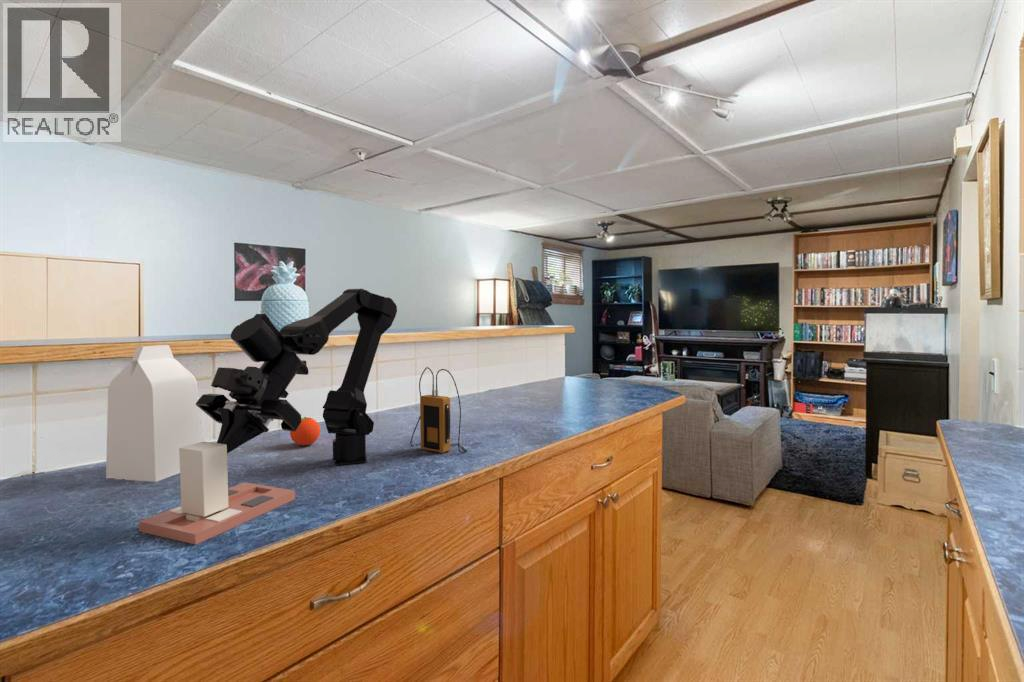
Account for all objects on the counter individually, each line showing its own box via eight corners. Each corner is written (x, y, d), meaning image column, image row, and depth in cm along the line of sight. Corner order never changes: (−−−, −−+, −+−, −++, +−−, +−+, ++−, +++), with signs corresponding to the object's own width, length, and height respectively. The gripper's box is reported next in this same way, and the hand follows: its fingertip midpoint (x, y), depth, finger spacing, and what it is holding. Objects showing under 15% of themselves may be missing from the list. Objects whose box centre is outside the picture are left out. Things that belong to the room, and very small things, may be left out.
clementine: (286, 451, 114) (286, 421, 114) (284, 444, 120) (283, 416, 120) (322, 446, 118) (321, 418, 118) (318, 440, 124) (318, 413, 124)
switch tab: (206, 508, 77) (204, 441, 77) (228, 513, 76) (226, 444, 75) (181, 518, 74) (179, 447, 73) (204, 523, 72) (202, 451, 71)
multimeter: (481, 446, 118) (480, 366, 117) (455, 456, 110) (454, 369, 108) (436, 438, 126) (435, 362, 125) (408, 447, 117) (407, 366, 116)
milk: (155, 481, 93) (150, 348, 91) (106, 478, 95) (100, 347, 93) (205, 463, 105) (201, 344, 103) (160, 460, 107) (156, 343, 105)
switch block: (244, 490, 88) (244, 481, 88) (295, 499, 84) (295, 489, 84) (139, 531, 71) (138, 520, 71) (195, 544, 67) (195, 533, 67)
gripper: (204, 347, 84) (138, 422, 74) (286, 350, 77) (226, 433, 68) (245, 386, 92) (190, 459, 82) (322, 392, 85) (273, 471, 75)
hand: (217, 455), depth 76 cm, fingers closed, pressing on switch tab
